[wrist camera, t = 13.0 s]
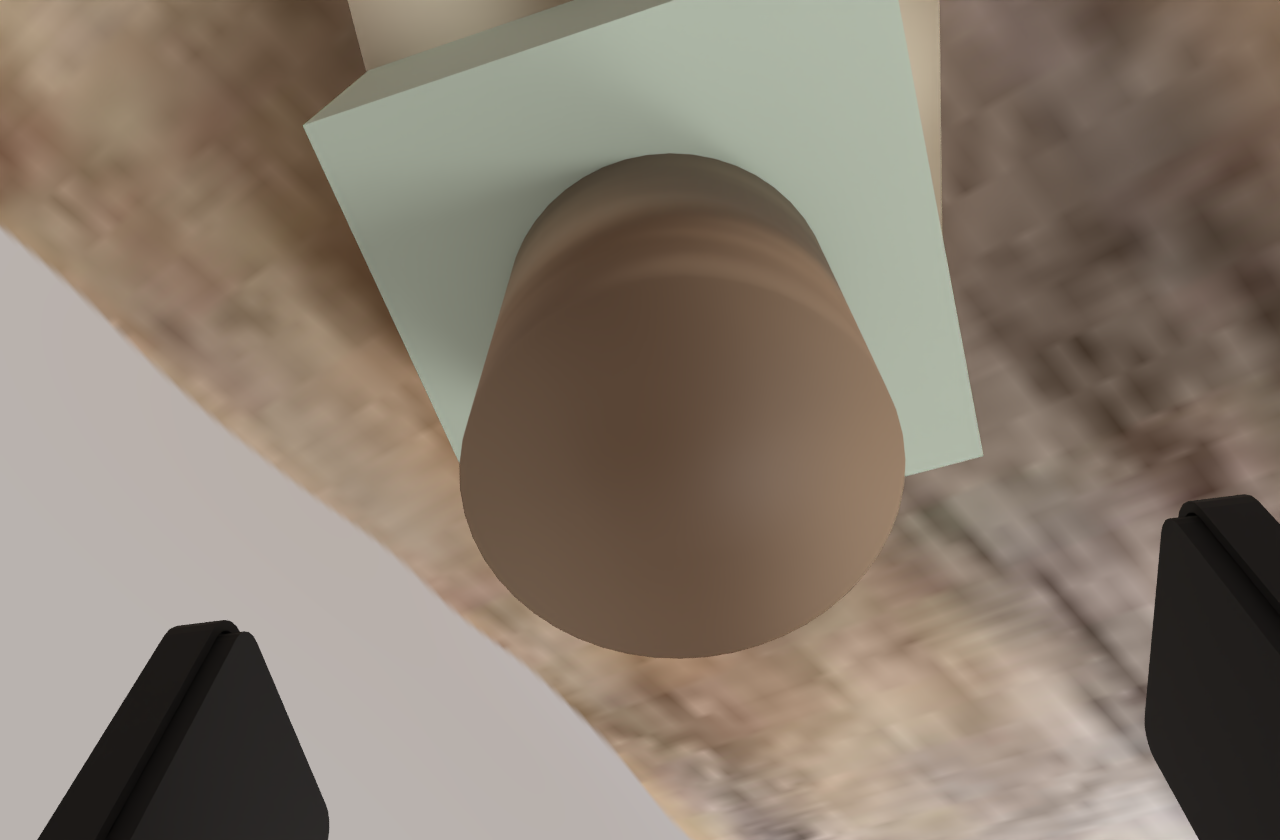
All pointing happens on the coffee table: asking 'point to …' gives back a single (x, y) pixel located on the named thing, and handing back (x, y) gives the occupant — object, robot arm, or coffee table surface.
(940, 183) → the tower base
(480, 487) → the walnut cylinder
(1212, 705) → the robot arm
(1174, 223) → the coffee table surface
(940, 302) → the tower top
